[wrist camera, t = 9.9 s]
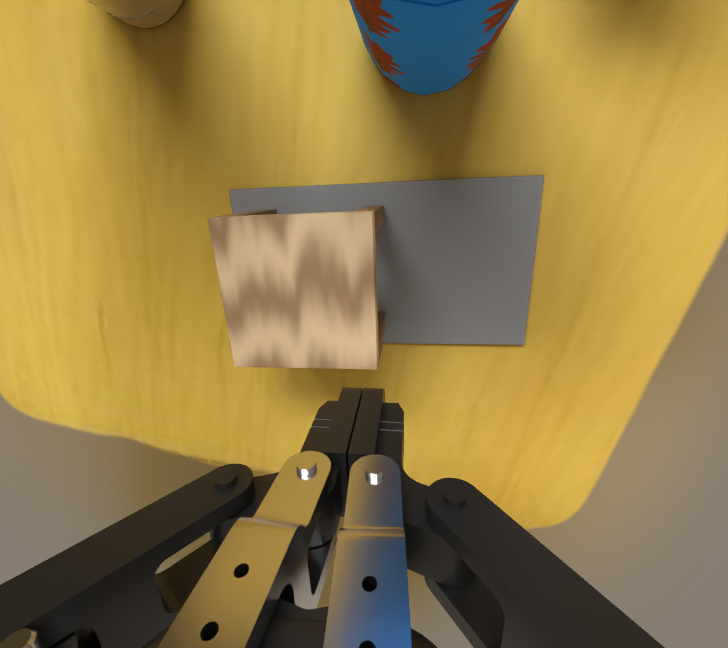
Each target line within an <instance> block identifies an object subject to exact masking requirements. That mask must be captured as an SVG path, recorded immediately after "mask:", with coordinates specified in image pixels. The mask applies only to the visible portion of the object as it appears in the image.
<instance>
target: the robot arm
mask: <svg viewBox="0 0 728 648" xmlns="http://www.w3.org/2000/svg"><path fill="white" fill-rule="evenodd" d="M86 1H88V2H90V3H92V4H93V5H95V6H97V7H99V8H100V9H102V10H104V11H106V12H107V13H108V14H110V15H112V16H114V17H116V18H118V19H120V20H122V21H124V22H125V23H127V24H129V25H132V26H136V27H139V28H151V27H155V26H159V25H161V24H163V23H165V22H166V21H168V20H169V19H170V18H171V17H172V16H173V15H174V14H175V13H176V12H177V10H178V9H179V7H180V5H181V4H182V2H183V0H86ZM403 455H404V411H403V410H402V408H401V407H400V405H399V404H398V403H385V390H384V389H374V388H364V390H363V388H343V389H342V391H341V394H340V397H339V400H338V401H327V402H326V403H325V404H324V405H323V406H321V407H320V408H319V410H318V412H317V414H316V417H315V420H314V421H313V424H312V427H311V428H310V431H309V433H308V435H307V438H306V440H305V442H304V445H303V447H302V449H301V452H300V453H298V454H295V455H293V456H292V457H290V458H289V459H288V460H287V461H286V462H285V463H284V465H283V467H282V468H281V470H280V472H277V473H274V474H269V475H264V476H258V477H253V474H252V471H251V469H250V468H249V467H247V466H245V465H242V464H228V465H224V466H221V467H219V468H217V469H215V470H213V471H211V472H210V473H207V474H206V475H204V476H202V477H200V478H198V479H196V480H194V481H193V482H191V483H189V484H187V485H185V486H183V487H181V488H179V489H178V490H176V491H174V492H172V493H170V494H169V495H167V496H165V497H163V498H161V499H159V500H157V501H155V502H153V503H152V504H150V505H148V506H146V507H144V508H142V509H140V510H139V511H137V512H135V513H133V514H131V515H129V516H127V517H126V518H124V519H122V520H120V521H119V522H116V523H114V524H113V525H111V526H109V527H107V528H105V529H103V530H102V531H100V532H98V533H96V534H94V535H92V536H90V537H88V538H87V539H85V540H83V541H81V542H79V543H77V544H75V545H74V546H72V547H70V548H68V549H66V550H64V551H63V552H61V553H59V554H57V555H55V556H54V557H51V558H50V559H48V560H46V561H44V562H42V563H40V564H39V565H37V566H35V567H33V568H31V569H29V570H27V571H26V572H24V573H22V574H20V575H18V576H16V577H14V578H12V579H11V580H9V581H7V582H5V583H3V584H1V585H0V648H437V647H436V646H435V645H434V644H433V643H432V642H431V641H429V640H428V639H427V638H425V637H424V636H423V635H422V634H420V633H418V632H417V631H415V630H413V629H412V628H411V627H410V611H409V594H408V578H407V569H409V570H412V571H414V572H416V573H418V574H421V575H423V576H424V577H425V581H426V584H427V586H428V587H429V589H430V590H431V592H432V593H433V594H434V596H435V597H436V598H437V600H438V601H439V602H440V604H441V605H442V606H443V607H444V609H445V610H446V611H447V613H448V614H449V615H450V617H451V618H452V619H453V621H454V622H455V623H456V625H457V626H458V627H459V629H460V630H461V631H462V633H463V634H464V635H465V637H466V638H467V639H468V640H469V642H470V643H471V644H472V646H473V647H474V648H664V647H663V646H662V645H661V644H660V643H658V642H657V641H656V640H655V639H654V638H653V637H651V636H650V635H649V634H648V633H647V632H646V631H644V630H643V629H642V628H641V627H639V626H638V625H637V624H636V623H635V622H634V621H633V620H631V619H630V618H629V617H628V616H627V615H625V614H624V613H623V612H622V611H621V610H620V609H618V608H617V607H616V606H615V605H614V604H612V603H611V602H610V601H609V600H608V599H606V598H605V597H604V596H603V595H602V594H601V593H599V592H598V591H597V590H596V589H595V588H593V587H592V586H591V585H590V584H589V583H588V582H586V581H585V580H584V579H583V578H582V577H580V576H579V575H578V574H577V573H576V572H575V571H573V570H572V569H571V568H570V567H569V566H567V565H566V564H565V563H564V562H563V561H562V560H560V559H559V558H558V557H557V556H556V555H554V554H553V553H552V552H551V551H550V550H548V549H547V548H546V547H545V546H544V545H543V544H541V543H540V542H539V541H538V540H537V539H536V538H534V537H533V536H532V535H531V534H530V533H528V532H527V531H526V530H525V529H524V528H523V527H521V526H520V525H519V524H518V523H517V522H515V521H514V520H513V519H512V518H511V517H510V516H508V515H507V514H506V513H505V512H504V511H502V510H501V509H500V508H499V507H498V506H496V505H495V504H494V503H493V502H492V501H491V500H489V499H488V498H487V497H486V496H485V495H483V494H482V493H481V492H480V491H479V490H478V489H476V488H475V487H474V486H473V485H471V484H470V483H468V482H466V481H463V480H460V479H456V478H443V479H439V480H437V481H435V482H434V483H432V484H431V485H430V486H427V485H424V484H421V483H418V482H416V481H415V480H413V479H411V478H410V477H409V476H408V475H407V474H406V473H405V471H404V470H403ZM340 517H344V525H343V528H341V529H340V530H339V534H338V540H337V528H338V524H339V520H340ZM207 532H209V533H210V537H211V540H210V541H208V542H207V543H205V544H204V545H202V546H201V547H199V548H198V549H196V550H195V551H193V552H192V553H190V554H189V555H187V556H186V557H184V558H183V559H181V560H180V561H178V562H177V563H175V564H174V565H172V566H171V567H169V568H168V569H166V570H164V571H163V572H161V573H158V574H155V572H156V570H157V568H158V567H159V565H160V564H161V563H162V562H163V561H164V560H166V559H167V558H169V557H170V556H172V555H173V554H175V553H176V552H178V551H179V550H181V549H182V548H184V547H186V546H187V545H188V544H190V543H192V542H193V541H195V540H196V539H198V538H200V537H201V536H203V535H204V534H206V533H207ZM336 542H337V548H336V556H335V563H334V571H333V578H332V586H331V593H330V601H329V606H328V607H322V608H317V606H318V602H319V598H320V595H321V592H322V588H323V585H324V582H325V579H326V575H327V572H328V569H329V566H330V562H331V559H332V555H333V552H334V549H335V546H336Z"/></svg>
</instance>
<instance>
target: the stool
mask: <svg viewBox="0 0 728 648" xmlns="http://www.w3.org/2000/svg"><path fill="white" fill-rule="evenodd" d="M208 222H209V227H210V233H211V239H212V244H213V250H214V255H215V261H216V266H217V272H218V277H219V283H220V288H221V294H222V299H223V305H224V311H225V316H226V322H227V327H228V333H229V338H230V344H231V349H232V355H233V360H234V366H237V367H283V368H328V369H373V370H377V368H378V363H379V358H380V353H381V348H382V343H383V338H384V333H385V328H386V311H377V279H376V246H375V233H376V232H377V231H378V229H379V228H380V227H381V226H382V225H383V223H384V207H383V205H379V206H365V207H363V208H360V209H358V210H355V211H353V212H325V213H297V214H277V209H273V210H257V211H251V212H244V213H237V214H231V215H224V216H217V217H211V218H208Z"/></svg>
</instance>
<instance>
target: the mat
mask: <svg viewBox="0 0 728 648" xmlns="http://www.w3.org/2000/svg"><path fill="white" fill-rule="evenodd" d="M543 182H544V175H535V176H513V177H491V178H469V179H447V180H426V181H404V182H382V183H360V184H338V185H317V186H295V187H273V188H251V189H229V194H230V200H231V206H232V213H233V214H237V213H244V212H251V211H257V210H273V209H277V214H297V213H325V212H353V211H355V210H358V209H360V208H363V207H365V206H379V205H383V207H384V223H383V225H382V226H381V227H380V228H379V229H378V231H377V232H376V233H375V246H376V279H377V311H386V328H385V333H384V338H383V343H420V344H500V345H524V343H525V334H526V326H527V317H528V309H529V300H530V292H531V284H532V275H533V267H534V258H535V250H536V241H537V233H538V224H539V216H540V208H541V199H542V191H543Z"/></svg>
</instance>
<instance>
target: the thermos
mask: <svg viewBox="0 0 728 648" xmlns="http://www.w3.org/2000/svg"><path fill="white" fill-rule="evenodd" d="M517 2H518V0H350V3H351V6H352V9H353V12H354V15H355V18H356V21H357V23H358V26H359V29H360V32H361V35H362V38H363V41H364V44H365V46H366V48H367V50H368V52H369V54H370V55H371V57H372V59H373V61H374V62H375V64H376V65H377V67H378V68H379V69H380V71H381V72H382V74H383V75H384V77H385V78H386V79H387V80H388V81H390V82H391V83H393V84H394V85H396V86H397V87H399V88H400V89H402V90H403V91H406V92H411V93H417V94H422V95H428V94H433V93H437V92H442V91H447V90H448V89H450V88H452V87H453V86H455V85H456V84H458V83H459V82H461V81H462V80H464V79H466V78H467V77H468V76H469V75H470V73H471V72H472V71H473V70H474V69H475V67H476V66H477V65H478V64H479V62H480V61H481V60H482V59H483V57H484V56H485V55H486V53H487V52H488V51H489V49H490V48H491V47H492V45H493V44H494V43H495V41H496V40H497V38H498V36H499V34H500V33H501V31H502V29H503V27H504V25H505V24H506V22H507V20H508V18H509V17H510V15H511V13H512V11H513V9H514V8H515V6H516V4H517Z"/></svg>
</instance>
